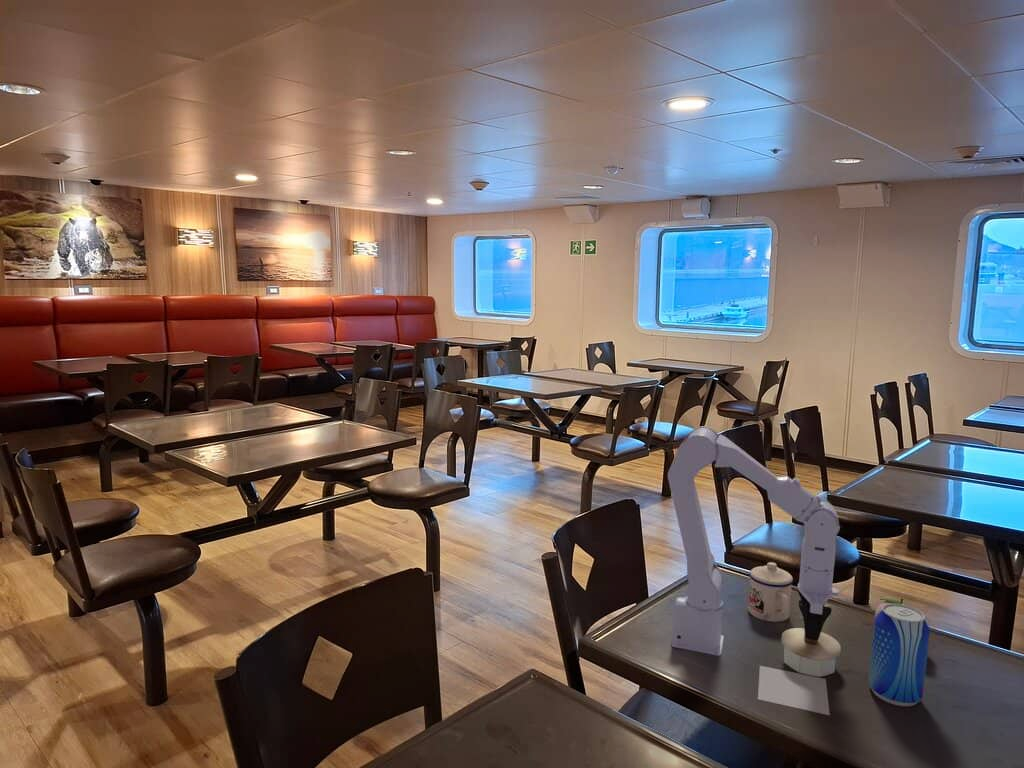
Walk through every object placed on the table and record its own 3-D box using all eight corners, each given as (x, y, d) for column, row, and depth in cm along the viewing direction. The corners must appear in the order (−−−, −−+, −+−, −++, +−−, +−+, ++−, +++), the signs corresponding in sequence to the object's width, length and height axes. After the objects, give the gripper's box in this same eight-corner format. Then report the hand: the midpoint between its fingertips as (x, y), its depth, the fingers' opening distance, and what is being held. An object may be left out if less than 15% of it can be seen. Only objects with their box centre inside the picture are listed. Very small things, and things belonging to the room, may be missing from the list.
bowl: (784, 671, 130) (785, 651, 129) (784, 648, 138) (785, 630, 138) (835, 682, 127) (837, 661, 126) (832, 658, 135) (833, 639, 134)
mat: (757, 701, 121) (757, 699, 121) (759, 667, 131) (759, 665, 131) (829, 717, 117) (829, 714, 117) (825, 681, 127) (825, 679, 127)
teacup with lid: (740, 604, 157) (743, 555, 155) (778, 603, 158) (781, 554, 156) (764, 630, 145) (768, 578, 144) (805, 629, 146) (809, 577, 144)
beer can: (929, 713, 118) (939, 626, 116) (876, 706, 120) (885, 620, 117) (911, 685, 126) (920, 603, 124) (862, 679, 128) (870, 598, 125)
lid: (782, 653, 129) (784, 629, 128) (780, 627, 138) (782, 605, 138) (843, 664, 125) (845, 640, 125) (837, 637, 135) (839, 614, 134)
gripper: (843, 584, 121) (837, 655, 123) (837, 554, 135) (831, 619, 137) (800, 577, 124) (794, 647, 126) (798, 549, 137) (793, 612, 139)
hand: (811, 632), depth 132 cm, fingers open, 4 cm apart
